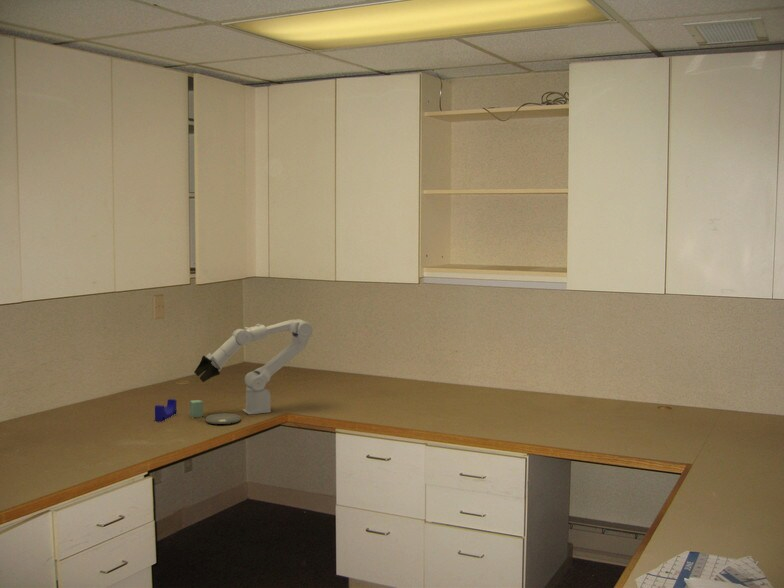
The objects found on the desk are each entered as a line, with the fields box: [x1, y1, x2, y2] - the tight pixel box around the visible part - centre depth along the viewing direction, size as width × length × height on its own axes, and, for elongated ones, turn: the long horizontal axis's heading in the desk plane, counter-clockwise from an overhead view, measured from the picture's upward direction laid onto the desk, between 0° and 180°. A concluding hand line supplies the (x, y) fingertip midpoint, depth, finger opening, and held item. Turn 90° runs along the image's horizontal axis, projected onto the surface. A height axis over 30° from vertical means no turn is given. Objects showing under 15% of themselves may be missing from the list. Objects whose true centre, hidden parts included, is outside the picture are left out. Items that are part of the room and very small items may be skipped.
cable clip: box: [154, 398, 178, 422], centre depth 311 cm, size 12×4×6 cm, turn 169°
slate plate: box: [205, 412, 241, 425], centre depth 306 cm, size 13×13×2 cm
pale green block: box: [189, 399, 204, 418], centre depth 313 cm, size 4×4×6 cm
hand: (198, 377), depth 311 cm, fingers open, 7 cm apart
